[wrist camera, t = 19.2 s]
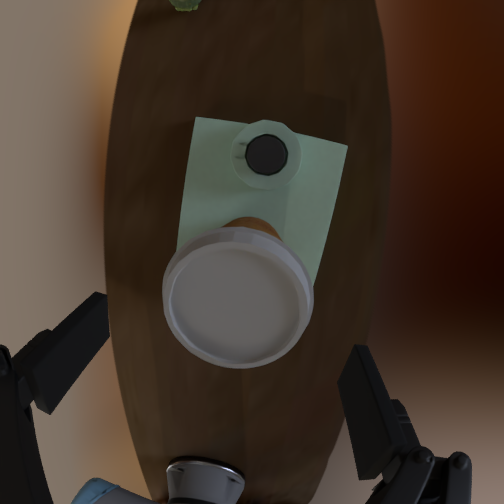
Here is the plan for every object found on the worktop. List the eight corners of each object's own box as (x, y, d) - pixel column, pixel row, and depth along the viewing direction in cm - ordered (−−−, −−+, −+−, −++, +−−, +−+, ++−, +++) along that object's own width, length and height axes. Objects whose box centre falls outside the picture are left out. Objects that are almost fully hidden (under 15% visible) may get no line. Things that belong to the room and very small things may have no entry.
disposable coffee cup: (181, 229, 28) (126, 279, 17) (268, 180, 26) (267, 200, 15) (231, 308, 30) (210, 389, 19) (315, 268, 28) (340, 339, 17)
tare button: (280, 175, 24) (281, 176, 23) (245, 168, 24) (243, 169, 23) (287, 141, 23) (288, 140, 22) (252, 134, 23) (250, 133, 22)
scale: (302, 314, 31) (304, 329, 29) (175, 289, 31) (167, 302, 29) (345, 141, 25) (353, 140, 23) (199, 113, 25) (191, 109, 23)
